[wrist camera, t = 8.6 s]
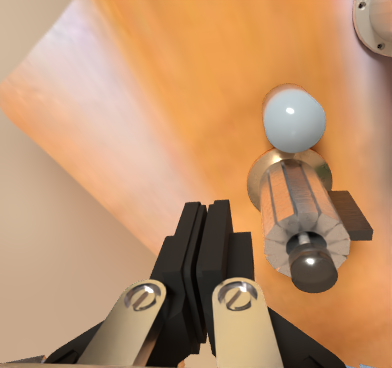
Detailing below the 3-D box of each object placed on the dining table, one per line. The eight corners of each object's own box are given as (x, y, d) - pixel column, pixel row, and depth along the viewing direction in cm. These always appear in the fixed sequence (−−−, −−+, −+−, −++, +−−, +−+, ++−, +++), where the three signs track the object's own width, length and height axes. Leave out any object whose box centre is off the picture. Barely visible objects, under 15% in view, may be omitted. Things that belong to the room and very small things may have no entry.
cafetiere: (342, 141, 46) (389, 194, 31) (335, 217, 52) (372, 292, 37) (245, 147, 49) (245, 198, 34) (248, 218, 54) (249, 289, 39)
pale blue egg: (312, 81, 43) (328, 92, 35) (310, 130, 46) (323, 151, 38) (261, 85, 44) (264, 97, 36) (261, 133, 47) (265, 154, 39)
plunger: (306, 177, 46) (339, 259, 30) (304, 203, 48) (335, 293, 32) (275, 178, 47) (292, 258, 31) (275, 204, 49) (290, 292, 33)
